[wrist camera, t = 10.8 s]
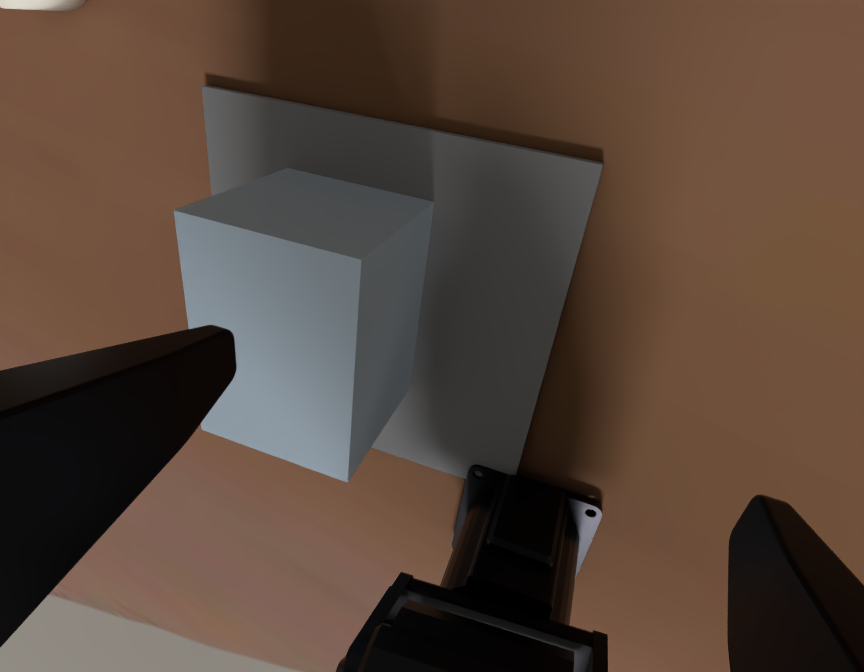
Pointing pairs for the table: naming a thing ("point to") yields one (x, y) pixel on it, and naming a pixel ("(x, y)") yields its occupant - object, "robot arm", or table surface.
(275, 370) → the grey rectangular block
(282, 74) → the table surface
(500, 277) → the mat
